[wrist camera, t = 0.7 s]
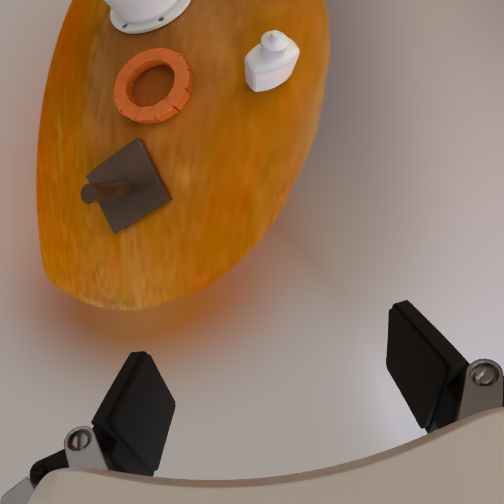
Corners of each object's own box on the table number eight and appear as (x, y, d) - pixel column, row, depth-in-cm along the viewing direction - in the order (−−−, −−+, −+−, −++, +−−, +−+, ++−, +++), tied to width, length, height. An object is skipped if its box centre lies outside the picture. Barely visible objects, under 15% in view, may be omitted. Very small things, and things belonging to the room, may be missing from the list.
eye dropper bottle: (292, 92, 29) (311, 55, 18) (246, 93, 29) (242, 54, 18) (290, 62, 28) (306, 16, 16) (245, 62, 28) (241, 15, 16)
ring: (112, 81, 28) (103, 77, 26) (175, 42, 27) (170, 35, 25) (137, 137, 31) (130, 136, 28) (206, 97, 29) (202, 92, 27)
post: (91, 175, 32) (46, 180, 22) (142, 139, 31) (103, 130, 21) (119, 231, 34) (79, 253, 25) (172, 199, 33) (142, 210, 23)
